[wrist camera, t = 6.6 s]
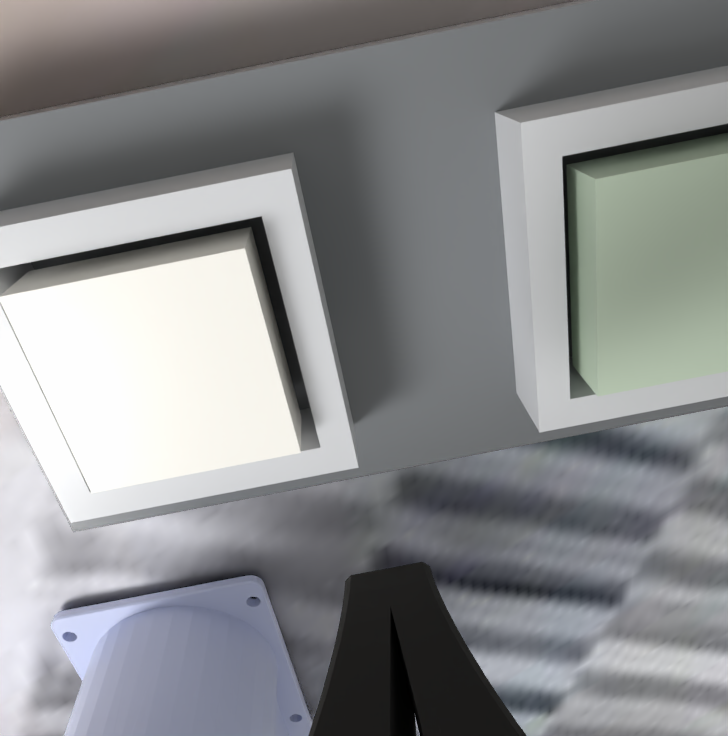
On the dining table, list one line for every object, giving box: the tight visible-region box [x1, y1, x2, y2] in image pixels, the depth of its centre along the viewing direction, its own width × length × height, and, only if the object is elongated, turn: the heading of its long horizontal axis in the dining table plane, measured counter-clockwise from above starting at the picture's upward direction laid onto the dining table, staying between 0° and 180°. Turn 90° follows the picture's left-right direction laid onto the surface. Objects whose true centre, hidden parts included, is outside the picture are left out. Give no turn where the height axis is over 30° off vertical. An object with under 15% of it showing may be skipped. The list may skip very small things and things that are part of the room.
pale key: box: [0, 227, 301, 493], centre depth 15 cm, size 5×5×2 cm
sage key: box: [566, 133, 728, 396], centre depth 14 cm, size 5×5×2 cm
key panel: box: [0, 0, 728, 532], centre depth 17 cm, size 11×22×5 cm, turn 100°
